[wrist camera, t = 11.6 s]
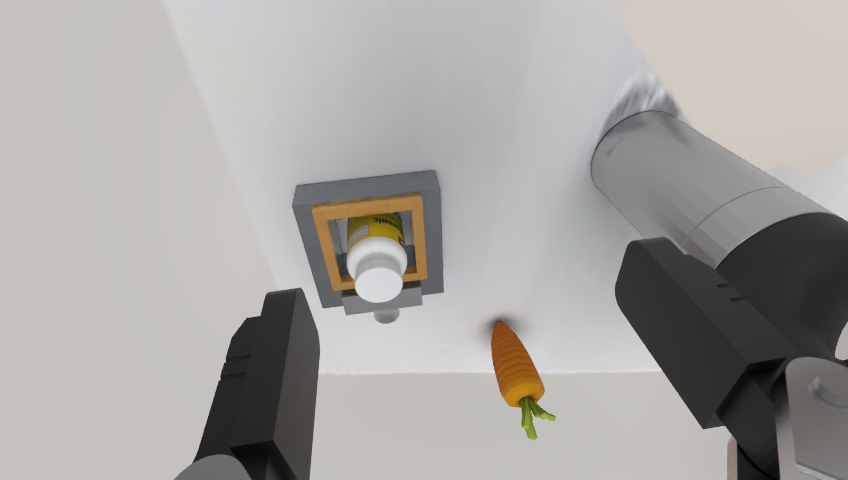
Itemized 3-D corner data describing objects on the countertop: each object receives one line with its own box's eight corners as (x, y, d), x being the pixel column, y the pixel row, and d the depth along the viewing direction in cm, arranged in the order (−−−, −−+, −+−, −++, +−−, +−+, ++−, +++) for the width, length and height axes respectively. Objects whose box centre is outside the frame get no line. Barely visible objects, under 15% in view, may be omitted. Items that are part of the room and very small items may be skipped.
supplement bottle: (411, 220, 42) (424, 286, 35) (373, 249, 44) (376, 318, 36) (376, 187, 39) (381, 251, 32) (336, 219, 41) (331, 287, 33)
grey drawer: (434, 170, 39) (443, 197, 35) (439, 295, 50) (446, 327, 46) (296, 185, 38) (289, 215, 34) (331, 309, 49) (329, 343, 45)
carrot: (499, 303, 52) (541, 415, 40) (524, 318, 54) (570, 427, 42) (472, 326, 54) (504, 438, 42) (496, 339, 56) (534, 449, 44)
